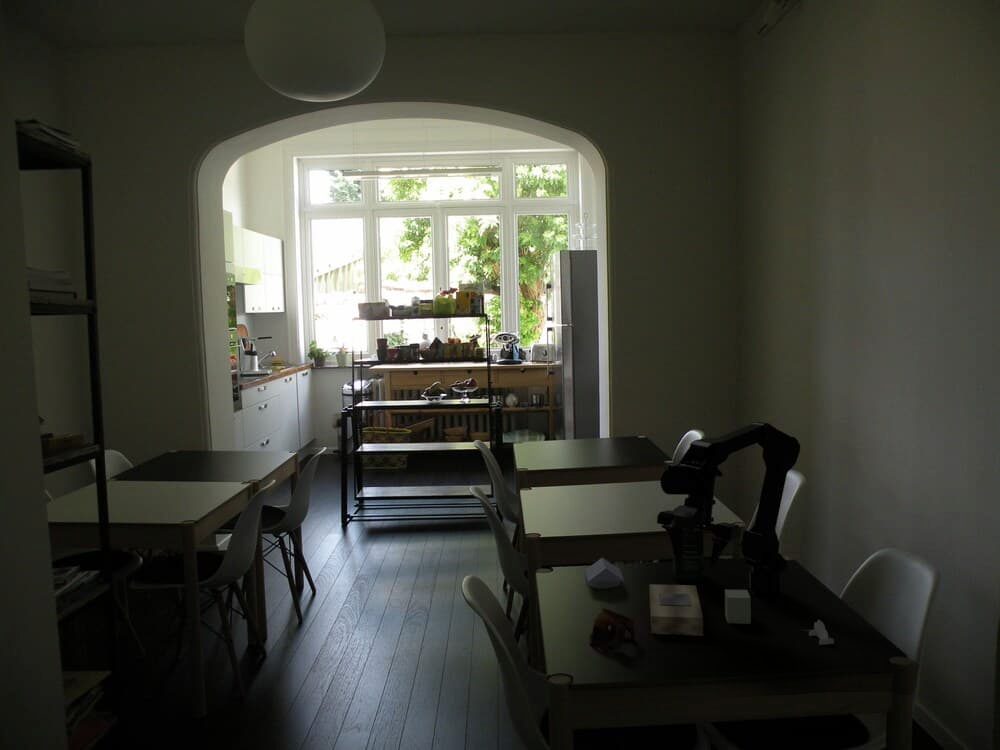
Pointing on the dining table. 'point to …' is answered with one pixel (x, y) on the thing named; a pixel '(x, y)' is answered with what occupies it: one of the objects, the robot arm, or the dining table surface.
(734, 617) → the sage block
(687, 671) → the dining table surface
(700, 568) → the coffee jar
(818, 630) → the grey curved piece
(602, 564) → the wedge on round base
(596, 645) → the pottery mug
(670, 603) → the birch base
